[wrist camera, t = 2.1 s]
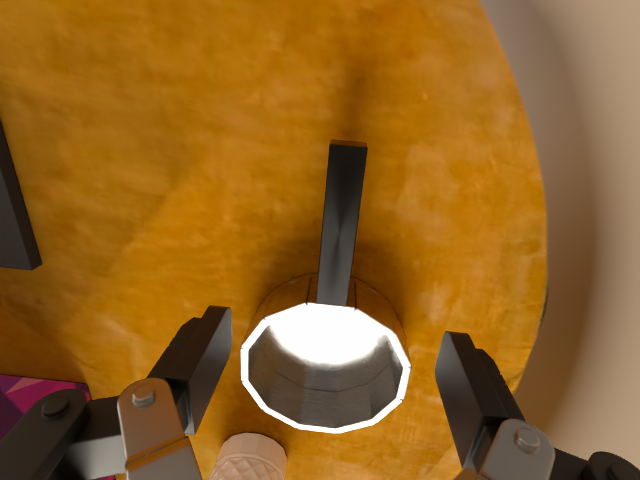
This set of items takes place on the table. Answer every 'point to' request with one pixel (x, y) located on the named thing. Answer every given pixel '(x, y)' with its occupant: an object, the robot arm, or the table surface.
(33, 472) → the robot arm
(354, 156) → the steel pan
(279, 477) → the white cup
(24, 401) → the decorative box
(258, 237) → the table surface
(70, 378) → the table surface
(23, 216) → the trivet
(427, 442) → the table surface
